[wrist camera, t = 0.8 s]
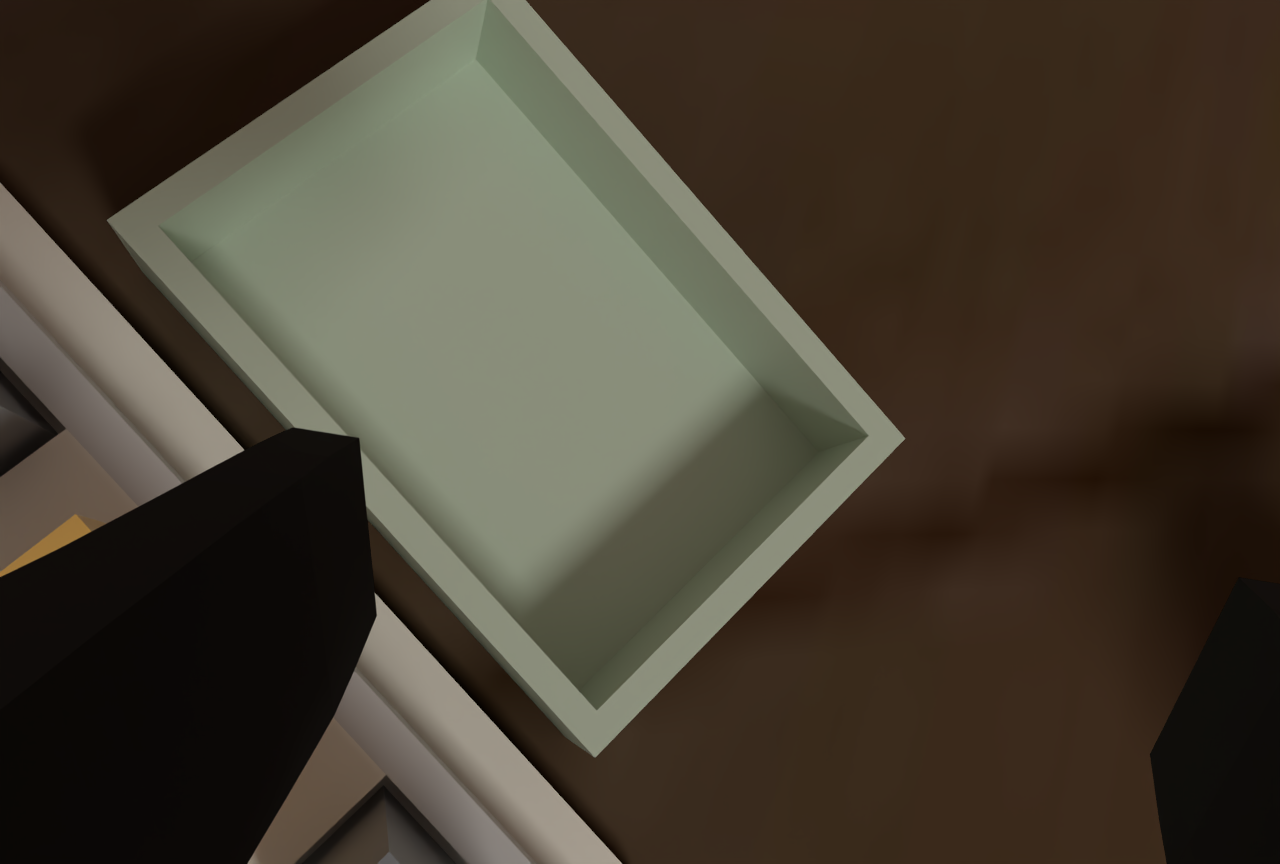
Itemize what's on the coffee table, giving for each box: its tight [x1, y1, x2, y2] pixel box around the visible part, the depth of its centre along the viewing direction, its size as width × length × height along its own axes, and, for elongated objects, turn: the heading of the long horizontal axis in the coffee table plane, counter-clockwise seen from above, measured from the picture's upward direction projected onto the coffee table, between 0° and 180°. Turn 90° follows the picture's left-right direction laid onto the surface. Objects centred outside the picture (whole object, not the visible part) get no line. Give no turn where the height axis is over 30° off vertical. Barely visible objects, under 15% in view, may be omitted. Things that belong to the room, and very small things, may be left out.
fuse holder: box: [0, 183, 622, 864], centre depth 19 cm, size 7×20×2 cm, turn 43°
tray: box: [107, 0, 905, 757], centre depth 21 cm, size 9×13×3 cm
